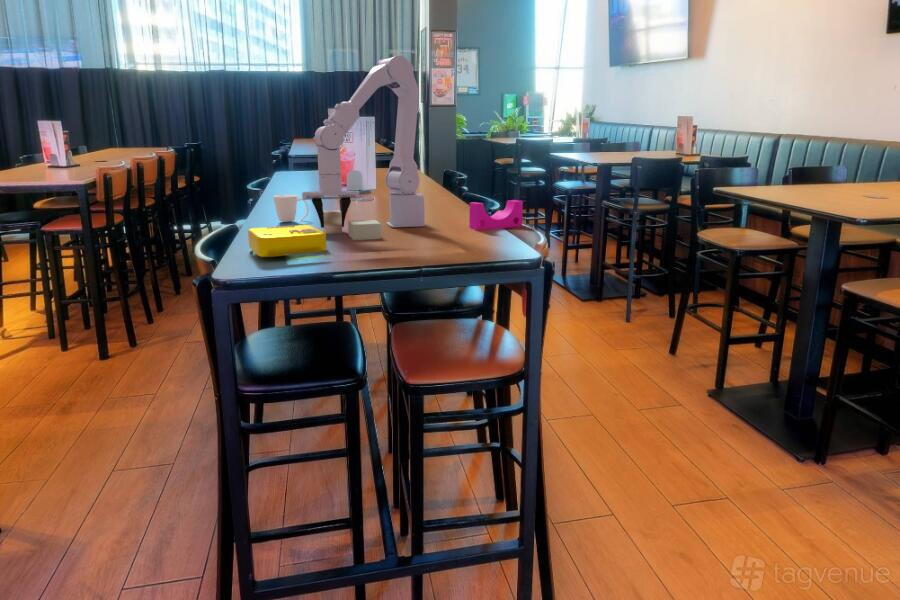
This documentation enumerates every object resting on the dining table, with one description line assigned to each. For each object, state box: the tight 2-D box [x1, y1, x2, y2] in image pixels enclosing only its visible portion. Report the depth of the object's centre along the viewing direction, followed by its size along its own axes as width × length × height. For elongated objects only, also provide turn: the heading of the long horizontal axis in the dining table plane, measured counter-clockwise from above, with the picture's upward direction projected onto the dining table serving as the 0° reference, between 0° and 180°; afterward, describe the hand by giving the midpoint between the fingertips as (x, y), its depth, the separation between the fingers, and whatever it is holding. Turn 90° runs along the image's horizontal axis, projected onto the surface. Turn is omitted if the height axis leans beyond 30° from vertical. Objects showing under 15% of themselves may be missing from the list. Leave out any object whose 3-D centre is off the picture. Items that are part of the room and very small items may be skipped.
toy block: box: [468, 199, 524, 231], centre depth 169 cm, size 15×6×8 cm, turn 120°
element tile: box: [247, 224, 328, 258], centre depth 138 cm, size 15×15×5 cm
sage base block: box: [347, 219, 382, 241], centre depth 153 cm, size 7×7×4 cm
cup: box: [273, 194, 310, 222], centre depth 175 cm, size 7×10×8 cm
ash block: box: [322, 209, 343, 235], centre depth 160 cm, size 4×4×6 cm
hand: (332, 226), depth 161 cm, fingers closed on ash block, 4 cm apart
